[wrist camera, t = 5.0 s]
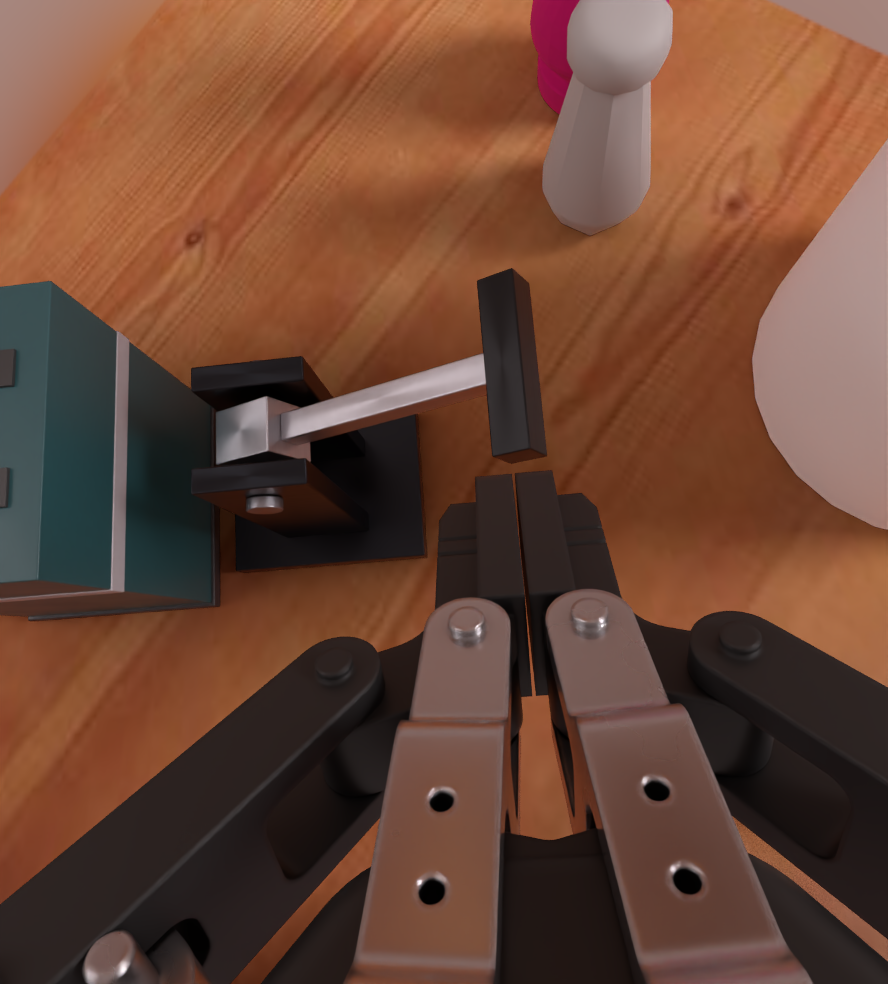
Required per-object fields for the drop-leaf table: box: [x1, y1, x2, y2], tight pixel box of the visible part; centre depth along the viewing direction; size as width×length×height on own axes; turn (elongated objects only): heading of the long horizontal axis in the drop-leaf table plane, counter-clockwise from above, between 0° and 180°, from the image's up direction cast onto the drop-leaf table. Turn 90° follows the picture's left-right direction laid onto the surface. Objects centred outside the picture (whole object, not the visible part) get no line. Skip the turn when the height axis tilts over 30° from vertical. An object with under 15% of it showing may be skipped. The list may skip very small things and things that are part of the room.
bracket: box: [191, 356, 427, 573], centre depth 33 cm, size 10×8×13 cm
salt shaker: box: [542, 0, 673, 236], centre depth 35 cm, size 6×6×13 cm
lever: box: [216, 268, 547, 466], centre depth 26 cm, size 13×6×2 cm, turn 96°
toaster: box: [0, 281, 220, 621], centre depth 33 cm, size 10×11×15 cm
